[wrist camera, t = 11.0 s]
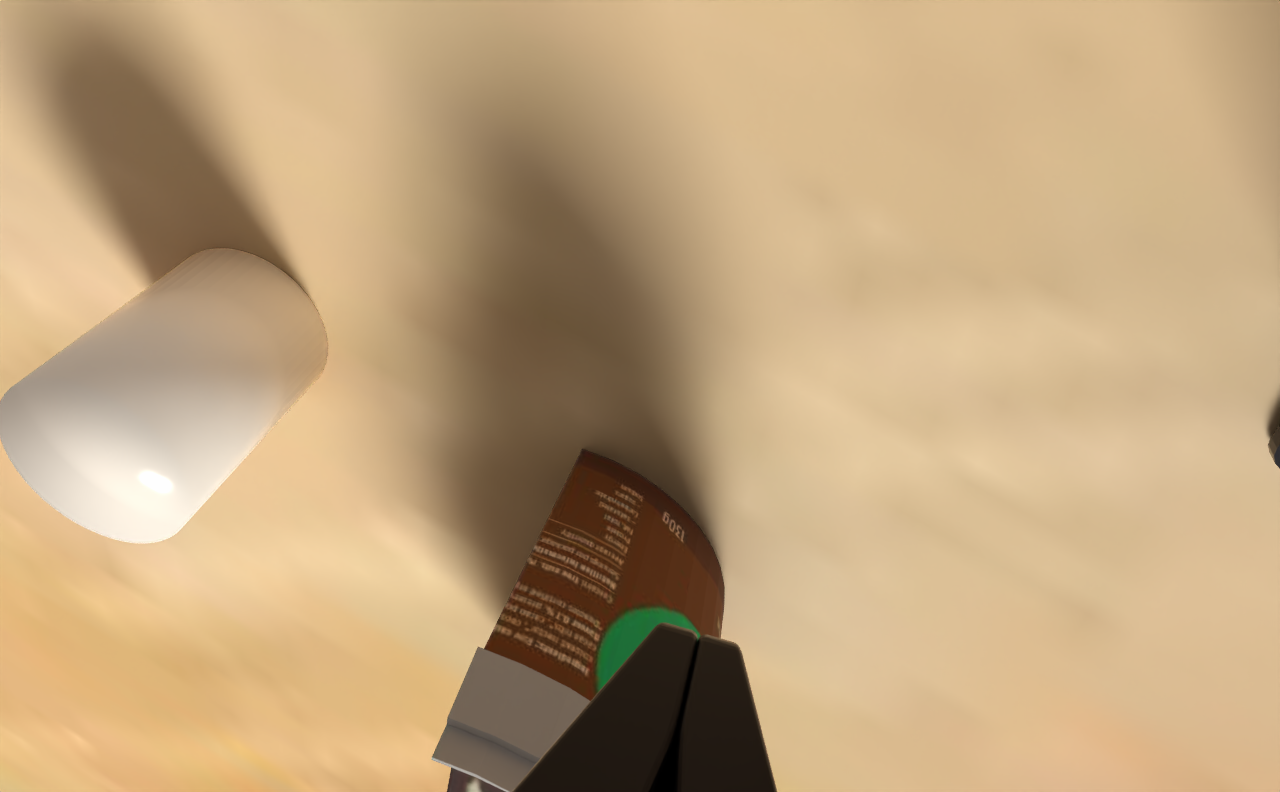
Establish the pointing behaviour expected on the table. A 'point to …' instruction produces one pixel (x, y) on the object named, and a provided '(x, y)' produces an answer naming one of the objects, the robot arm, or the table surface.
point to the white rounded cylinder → (165, 395)
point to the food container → (578, 620)
